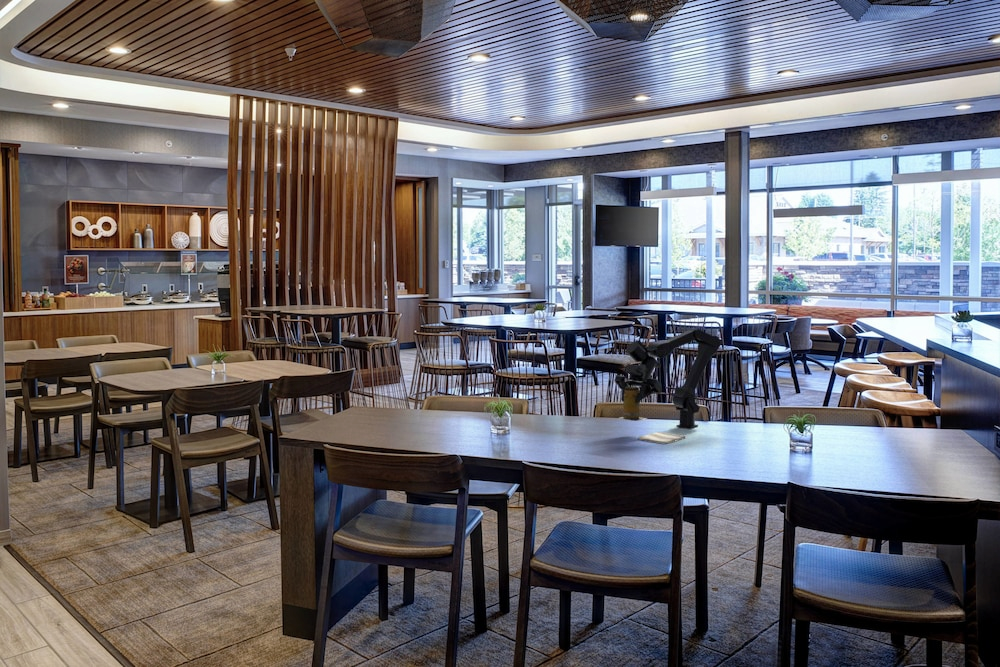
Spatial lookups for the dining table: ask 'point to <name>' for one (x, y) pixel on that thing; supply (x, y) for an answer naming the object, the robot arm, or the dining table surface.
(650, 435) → the serving board
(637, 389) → the condiment
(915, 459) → the dining table surface
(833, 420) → the dining table surface
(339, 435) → the dining table surface
